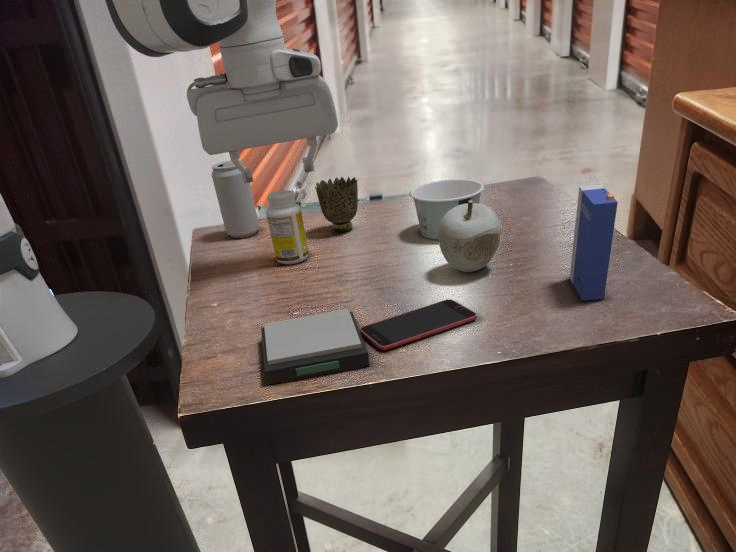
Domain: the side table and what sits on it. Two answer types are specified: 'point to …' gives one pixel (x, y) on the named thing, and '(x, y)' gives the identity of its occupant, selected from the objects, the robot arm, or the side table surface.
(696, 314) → the side table surface
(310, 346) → the scale
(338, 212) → the cup
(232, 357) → the side table surface
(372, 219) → the side table surface
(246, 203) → the beverage can
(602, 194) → the walkman
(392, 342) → the smartphone
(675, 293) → the side table surface
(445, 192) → the food container
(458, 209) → the decorative object
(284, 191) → the supplement bottle
